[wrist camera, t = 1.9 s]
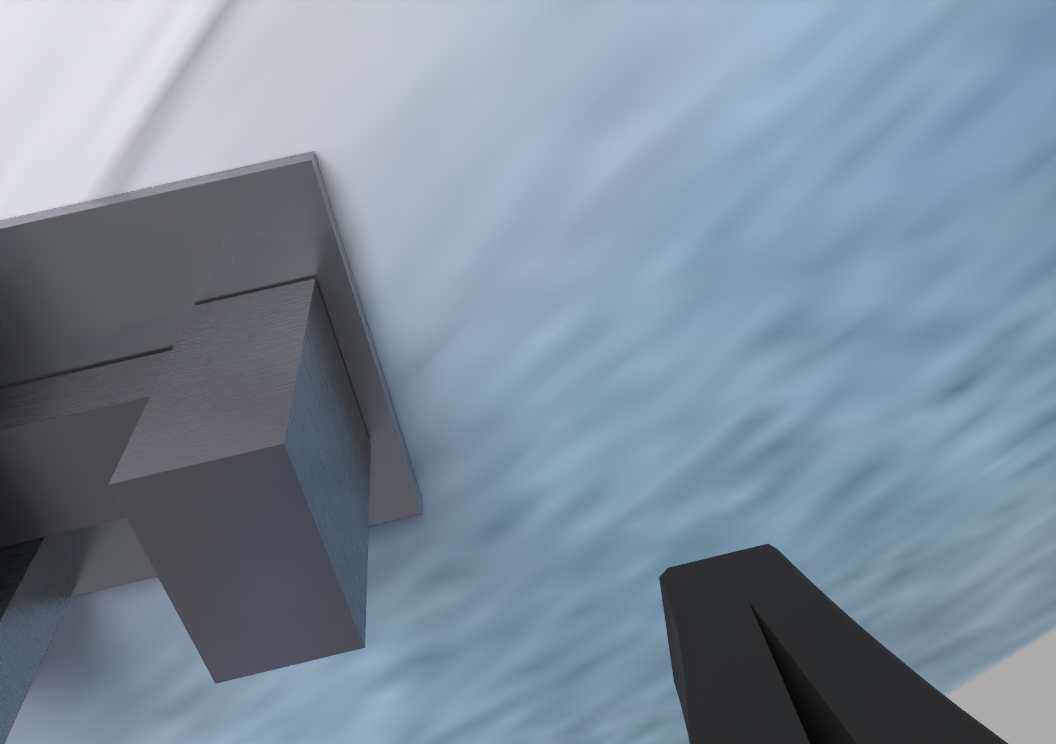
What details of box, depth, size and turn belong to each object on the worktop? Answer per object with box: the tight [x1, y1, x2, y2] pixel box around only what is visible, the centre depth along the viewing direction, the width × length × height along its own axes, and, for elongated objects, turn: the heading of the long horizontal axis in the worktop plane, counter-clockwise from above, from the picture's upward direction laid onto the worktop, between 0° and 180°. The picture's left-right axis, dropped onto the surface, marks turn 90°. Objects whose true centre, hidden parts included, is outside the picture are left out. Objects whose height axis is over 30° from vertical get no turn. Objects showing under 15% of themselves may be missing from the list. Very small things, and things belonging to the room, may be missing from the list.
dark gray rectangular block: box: [0, 279, 371, 683], centre depth 15 cm, size 8×4×6 cm, turn 101°
